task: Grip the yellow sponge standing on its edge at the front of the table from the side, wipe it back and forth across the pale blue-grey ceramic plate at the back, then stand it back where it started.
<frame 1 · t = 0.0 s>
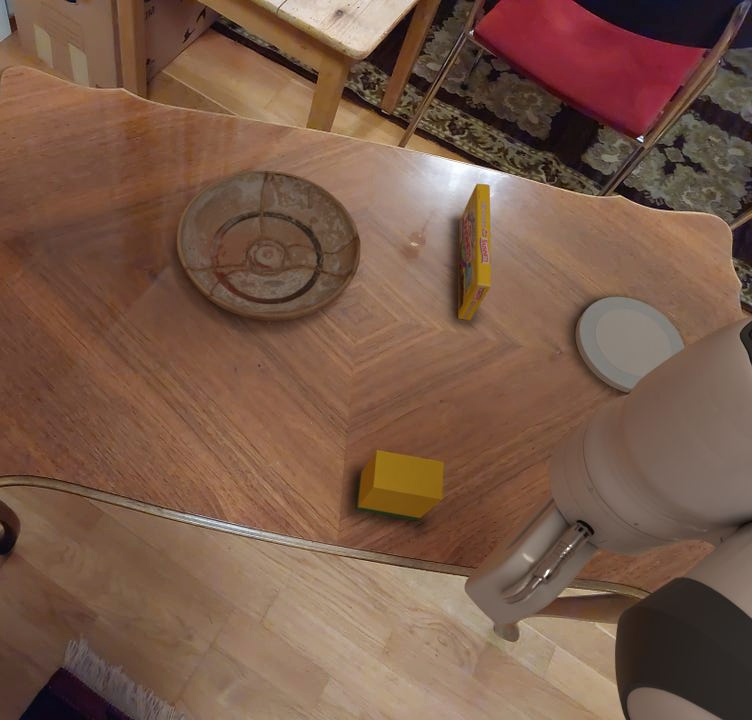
hand: (532, 528, 53), 20 cm above the table, tool pointing down, fingers open, 8 cm apart
candy box: (462, 270, 90), on the table
ceramic bowl: (266, 261, 88), on the table
plate: (627, 346, 86), on the table
sponge: (388, 497, 74), on the table
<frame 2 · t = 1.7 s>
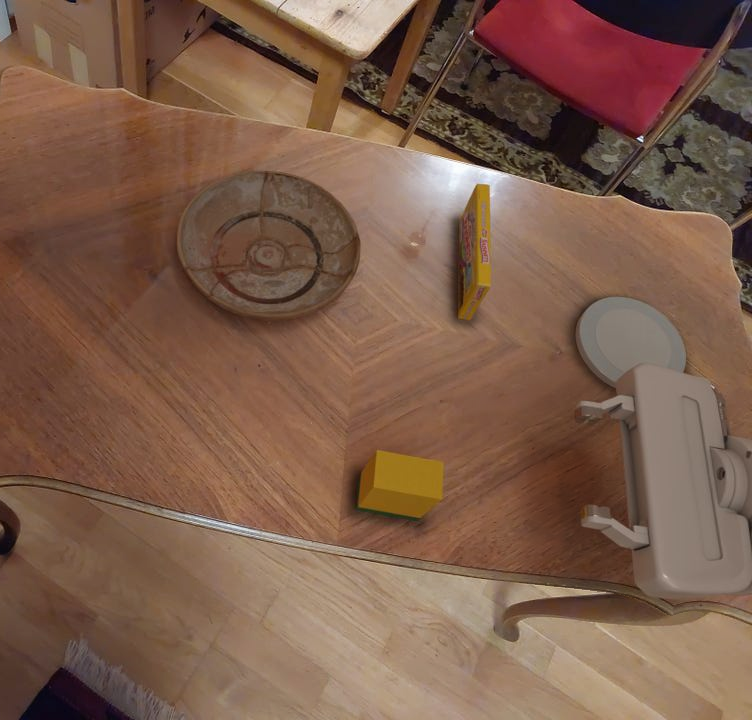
hand: (580, 461, 56), 20 cm above the table, tool horizontal, fingers open, 8 cm apart
nothing on the table moved.
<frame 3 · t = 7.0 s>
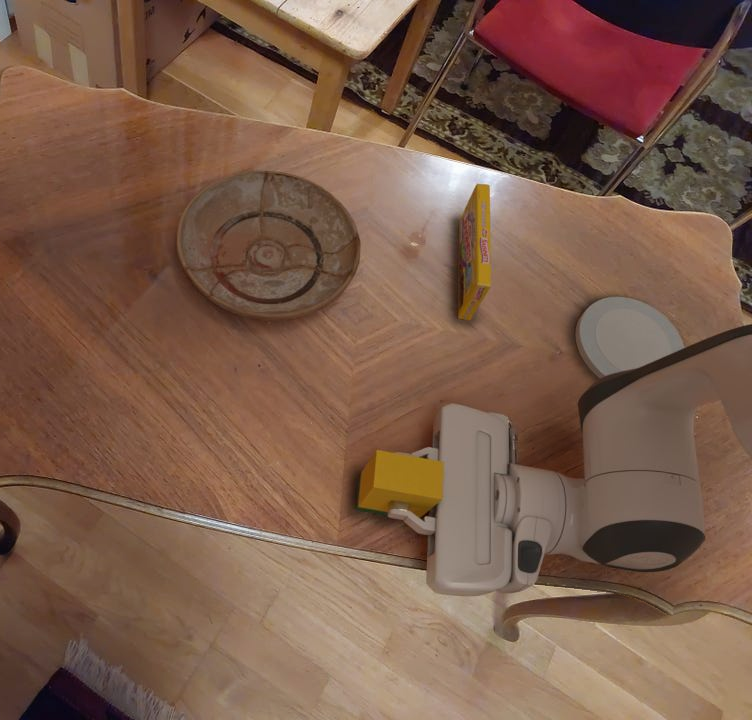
hand: (390, 484, 70), 5 cm above the table, tool horizontal, fingers closed on sponge, 4 cm apart
sponge: (387, 497, 74), on the table, touching gripper
everything else where it was.
when the fingers open (5 cm above the table, at t = 30.6 s): sponge stays where it is, on the table.
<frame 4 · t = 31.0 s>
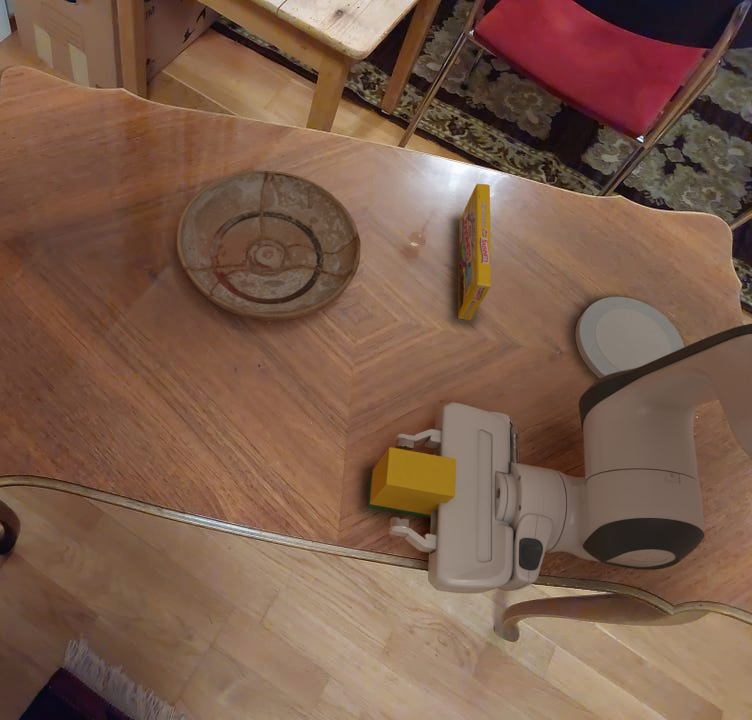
hand: (393, 482, 70), 5 cm above the table, tool horizontal, fingers open, 8 cm apart
sponge: (399, 495, 74), on the table
everything else where it was.
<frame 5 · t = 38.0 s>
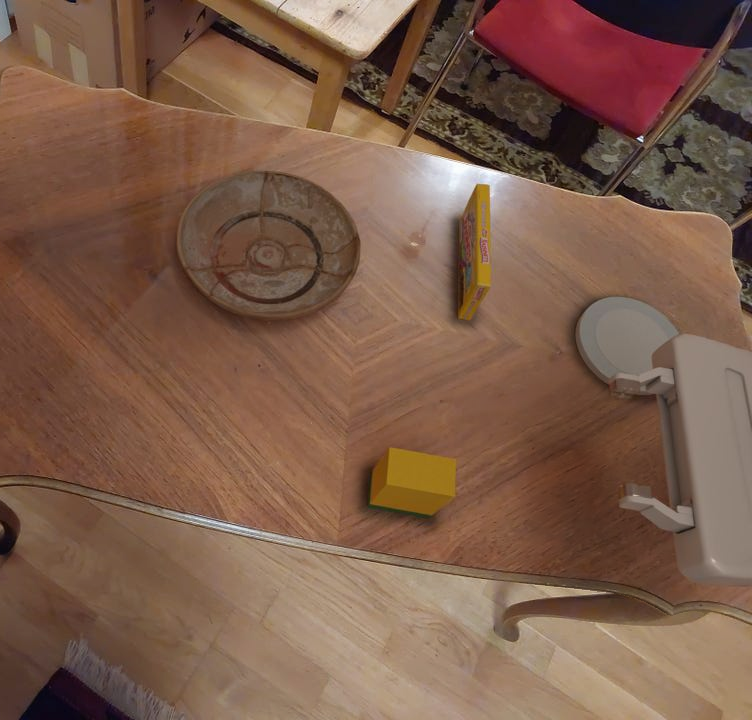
hand: (616, 437, 52), 25 cm above the table, tool horizontal, fingers open, 8 cm apart
nothing on the table moved.
at the end: sponge tilted 0°; the gripper is holding nothing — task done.
